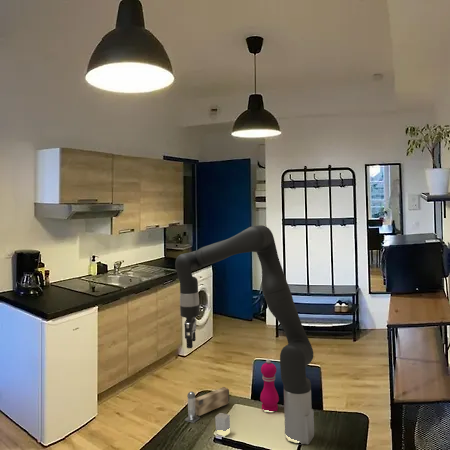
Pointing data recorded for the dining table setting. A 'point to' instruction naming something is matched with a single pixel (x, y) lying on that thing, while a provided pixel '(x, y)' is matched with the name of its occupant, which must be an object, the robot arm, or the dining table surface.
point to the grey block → (222, 421)
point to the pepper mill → (269, 387)
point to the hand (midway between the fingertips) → (191, 344)
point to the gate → (211, 400)
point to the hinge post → (191, 408)
